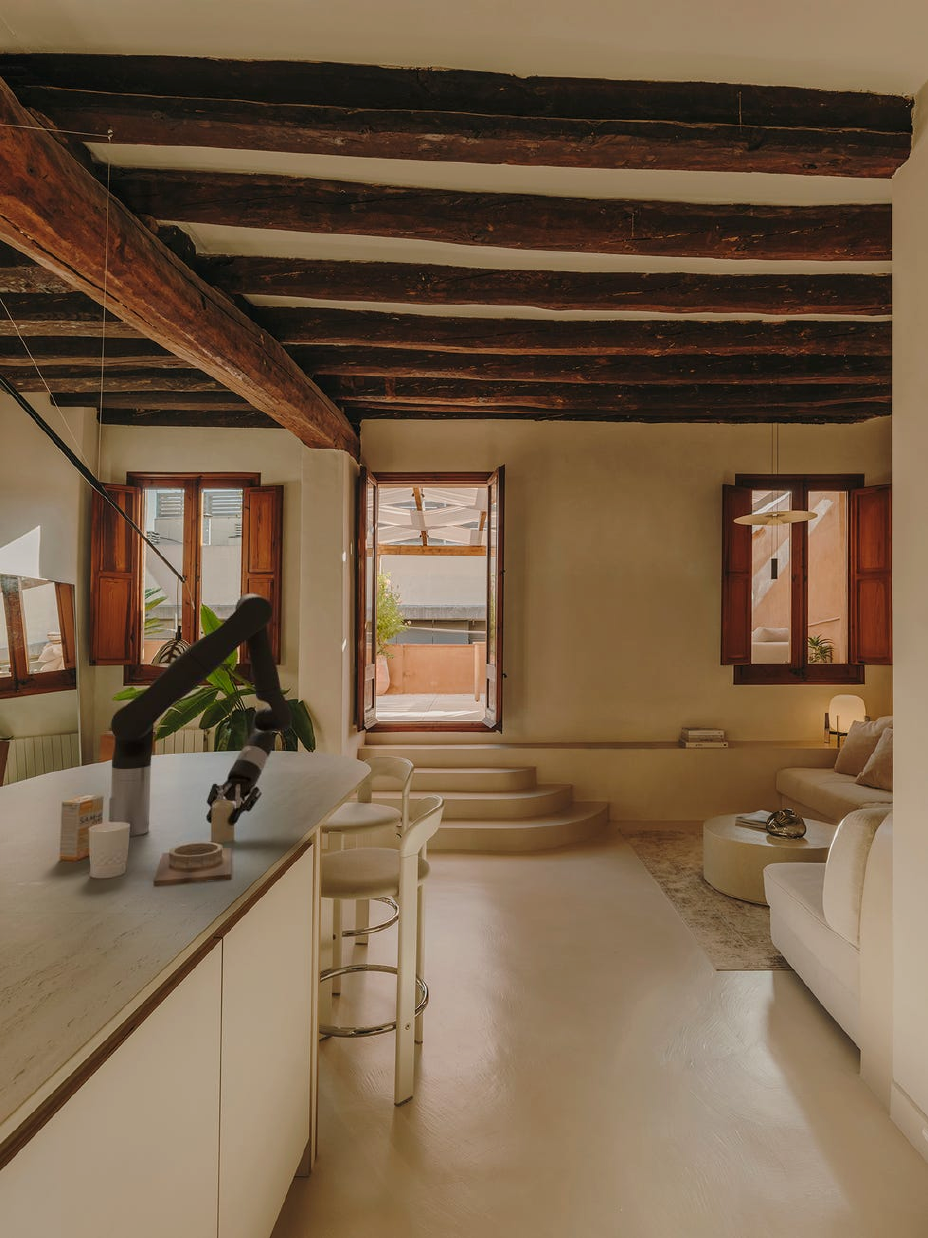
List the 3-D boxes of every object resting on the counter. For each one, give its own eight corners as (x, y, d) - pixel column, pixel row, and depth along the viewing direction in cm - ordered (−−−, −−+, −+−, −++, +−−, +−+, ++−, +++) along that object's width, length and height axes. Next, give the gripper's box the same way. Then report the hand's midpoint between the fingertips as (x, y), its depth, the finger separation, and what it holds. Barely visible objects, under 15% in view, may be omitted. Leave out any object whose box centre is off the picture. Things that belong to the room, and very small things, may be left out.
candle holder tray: (153, 885, 142) (154, 868, 142) (162, 857, 161) (163, 842, 161) (231, 879, 147) (231, 862, 147) (231, 852, 166) (231, 837, 166)
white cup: (136, 870, 152) (138, 824, 152) (107, 881, 144) (109, 833, 145) (108, 866, 154) (110, 820, 155) (78, 877, 147) (80, 829, 147)
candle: (214, 837, 178) (215, 798, 179) (236, 837, 179) (237, 797, 179) (208, 843, 173) (209, 802, 173) (230, 843, 173) (232, 802, 174)
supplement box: (76, 861, 157) (78, 802, 158) (58, 859, 158) (60, 801, 159) (102, 851, 166) (104, 795, 166) (85, 849, 167) (87, 794, 167)
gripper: (219, 756, 186) (188, 812, 174) (266, 760, 182) (238, 816, 170) (230, 773, 191) (201, 828, 179) (277, 777, 187) (250, 833, 175)
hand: (219, 822), depth 175 cm, fingers closed on candle, 5 cm apart
